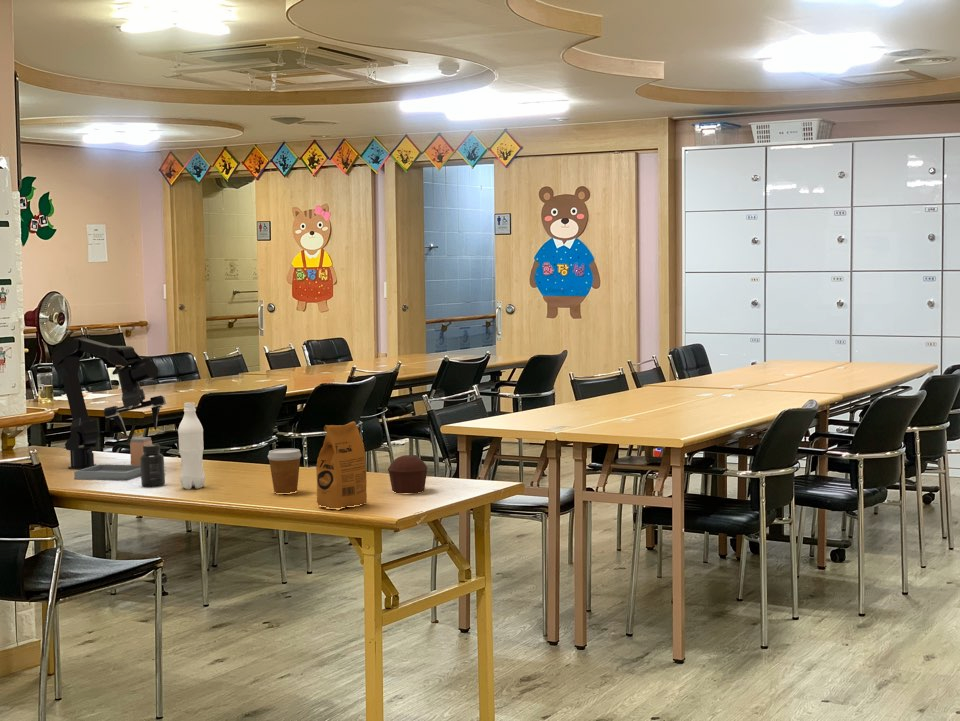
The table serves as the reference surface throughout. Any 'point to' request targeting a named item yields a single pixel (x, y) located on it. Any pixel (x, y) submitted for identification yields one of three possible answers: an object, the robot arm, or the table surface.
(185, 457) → the water bottle
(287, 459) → the disposable coffee cup
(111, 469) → the tray
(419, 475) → the muffin
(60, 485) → the table surface
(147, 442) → the tall box
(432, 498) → the table surface
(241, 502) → the table surface
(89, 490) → the table surface
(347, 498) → the coffee package
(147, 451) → the supplement bottle
